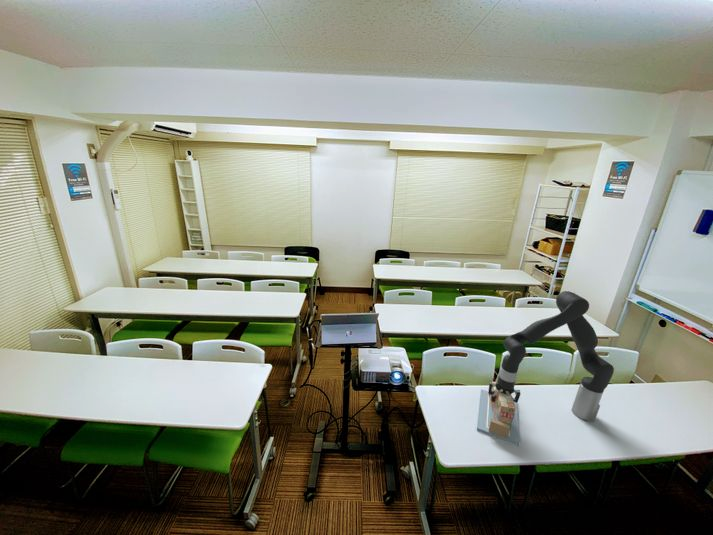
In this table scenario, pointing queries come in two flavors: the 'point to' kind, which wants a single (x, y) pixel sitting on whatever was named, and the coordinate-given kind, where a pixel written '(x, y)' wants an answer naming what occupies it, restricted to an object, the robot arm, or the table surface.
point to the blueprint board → (491, 416)
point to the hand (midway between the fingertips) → (500, 404)
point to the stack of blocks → (503, 407)
